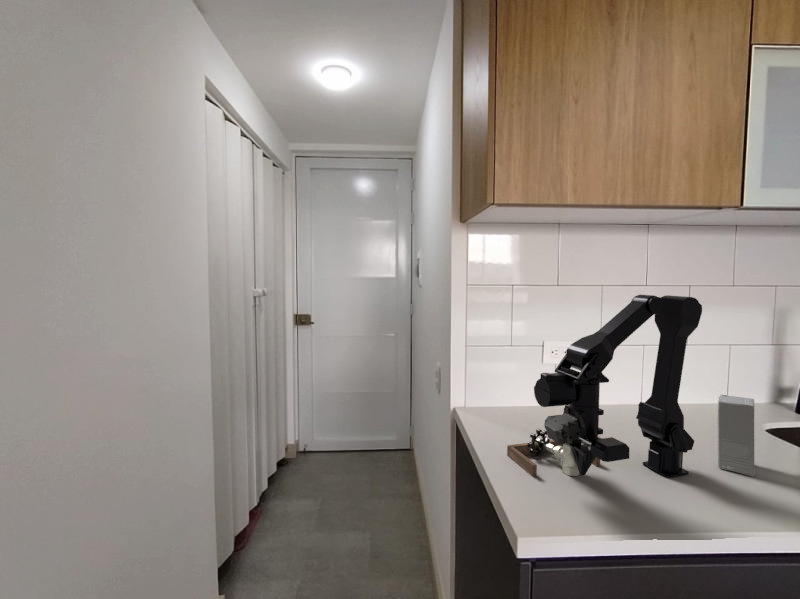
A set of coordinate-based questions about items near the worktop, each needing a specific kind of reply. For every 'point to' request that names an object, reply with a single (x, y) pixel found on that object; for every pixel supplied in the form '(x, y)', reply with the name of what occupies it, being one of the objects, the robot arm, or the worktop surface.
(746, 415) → the skincare box
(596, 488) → the worktop surface
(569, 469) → the valve
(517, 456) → the carrier bracket
